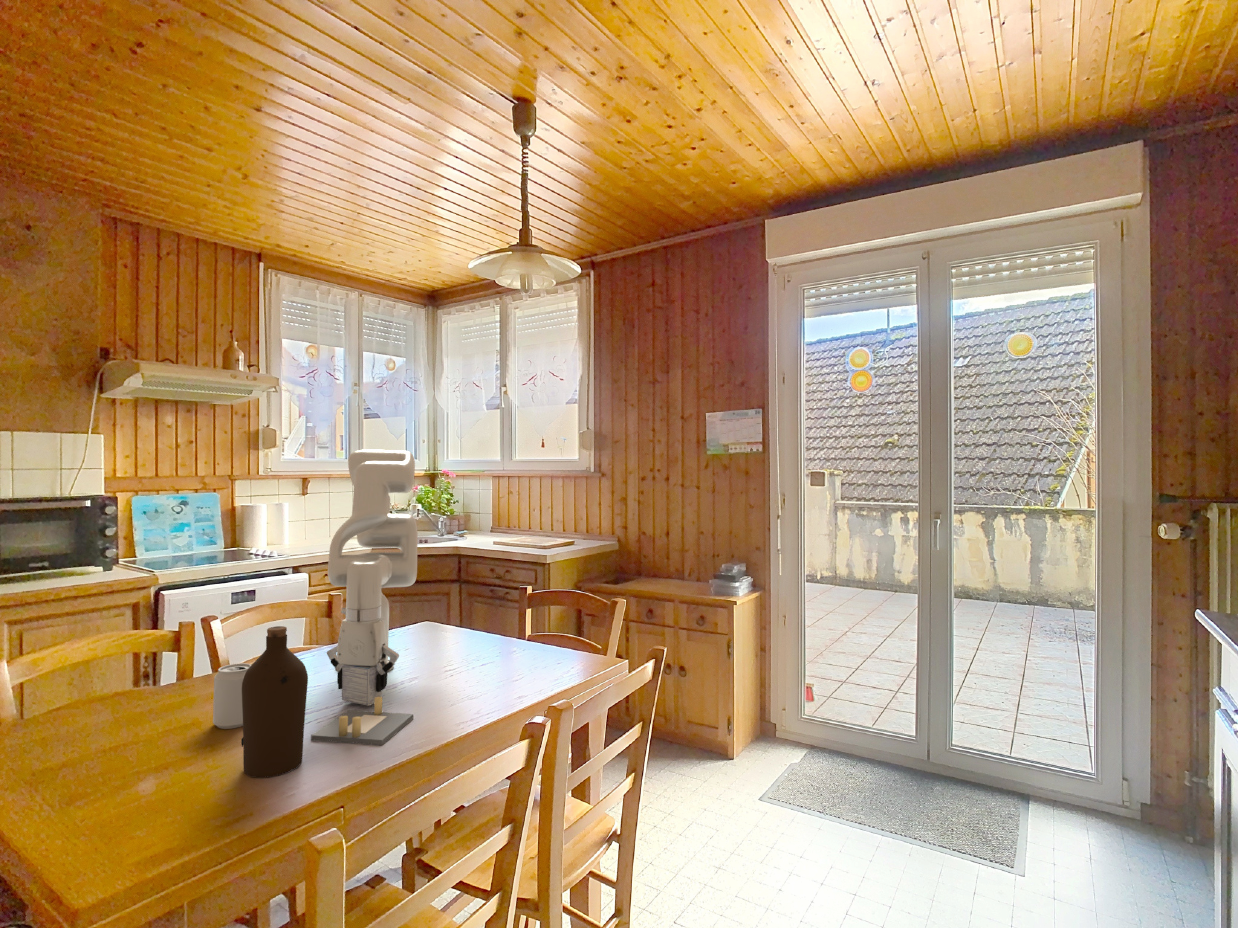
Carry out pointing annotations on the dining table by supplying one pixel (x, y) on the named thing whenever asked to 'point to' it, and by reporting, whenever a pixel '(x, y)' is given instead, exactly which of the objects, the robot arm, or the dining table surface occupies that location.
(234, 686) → the can
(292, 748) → the olive oil
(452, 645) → the dining table surface
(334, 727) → the pin board
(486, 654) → the dining table surface
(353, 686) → the medicine box
